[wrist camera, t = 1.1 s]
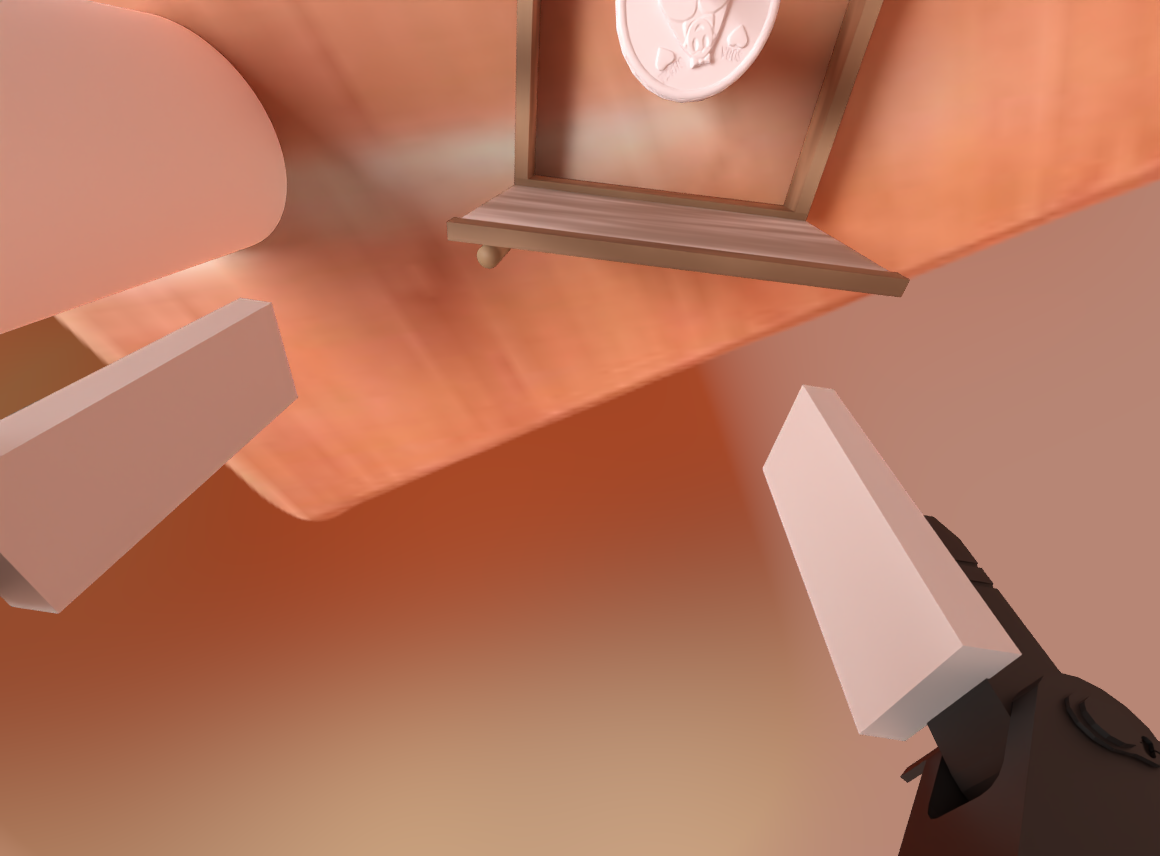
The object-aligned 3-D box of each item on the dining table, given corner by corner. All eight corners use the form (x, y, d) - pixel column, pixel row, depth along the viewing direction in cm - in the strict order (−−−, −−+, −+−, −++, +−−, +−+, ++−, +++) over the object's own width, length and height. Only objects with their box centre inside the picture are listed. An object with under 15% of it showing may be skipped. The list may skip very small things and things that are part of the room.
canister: (257, 30, 27) (-313, -99, 11) (305, 262, 35) (16, 395, 18) (31, -6, 27) (-886, -190, 11) (129, 234, 35) (-317, 342, 18)
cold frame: (525, -130, 23) (407, -409, 11) (899, -88, 22) (1217, -326, 10) (518, 214, 32) (450, 275, 20) (785, 247, 31) (883, 331, 19)
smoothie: (733, -64, 23) (836, -237, 12) (737, 89, 27) (820, 70, 15) (609, -23, 25) (592, -144, 13) (628, 118, 28) (629, 121, 16)
